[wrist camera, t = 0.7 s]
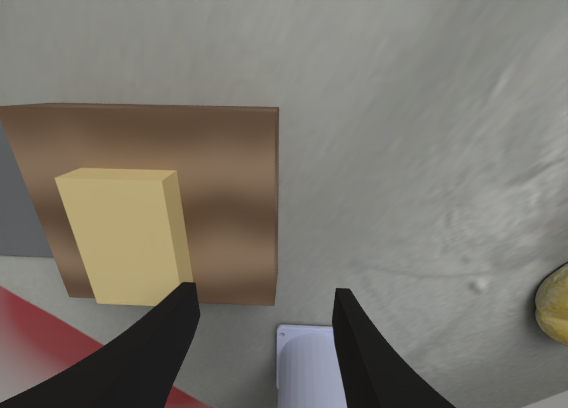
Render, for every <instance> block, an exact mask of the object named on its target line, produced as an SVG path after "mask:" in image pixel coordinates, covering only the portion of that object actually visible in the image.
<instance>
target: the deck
mask: <svg viewBox="0 0 568 408" xmlns="http://www.w3.org/2000/svg"><path fill="white" fill-rule="evenodd" d="M0 120H1V123H2V125H3V128H4V130H5V133H6V135H7V138H8V141H9V143H10V146H11V148H12V151H13V153H14V156H15V159H16V161H17V164H18V166H19V169H20V171H21V174H22V177H23V179H24V182H25V184H26V187H27V189H28V192H29V195H30V197H31V200H32V202H33V205H34V207H35V210H36V213H37V215H38V218H39V220H40V223H41V225H42V228H43V230H44V233H45V236H46V238H47V241H48V243H49V246H50V248H51V251H52V254H53V256H54V259H55V261H56V264H57V266H58V269H59V272H60V274H61V277H62V279H63V282H64V284H65V287H66V290H67V292H68V295H69V297H76V298H95V296H94V293H93V290H92V287H91V284H90V281H89V278H88V275H87V272H86V269H85V266H84V263H83V260H82V257H81V254H80V251H79V249H78V246H77V243H76V240H75V237H74V234H73V231H72V228H71V225H70V222H69V219H68V216H67V213H66V210H65V207H64V204H63V202H62V199H61V196H60V193H59V190H58V187H57V184H56V181H55V178H56V177H58V176H61V175H64V174H66V173H69V172H71V171H74V170H77V169H79V168H103V169H140V170H176V171H177V176H178V183H179V189H180V196H181V203H182V209H183V216H184V223H185V230H186V236H187V243H188V250H189V257H190V263H191V270H192V277H193V282H196V289H197V296H198V303H216V304H240V305H263V306H274V304H275V294H276V284H277V274H278V158H279V107H239V106H188V105H137V104H87V103H43V104H28V105H12V106H0Z"/></svg>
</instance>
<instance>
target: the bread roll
mask: <svg viewBox="0 0 568 408" xmlns="http://www.w3.org/2000/svg"><path fill="white" fill-rule="evenodd" d="M535 303H536V308H537V309H536V310H535V317H536V321H537V323H538V325H539V327H540V328H541V329H542V330H543V331H544V332H545V333H546V334H547V335H548V336H549V337H551V338H552V339H554V340H556V341H558V342H560V343H562V344H564V345H566V346H568V263H567V264H566V265H564V266H562V267H561V268H560V269H558V270H556V271H555V272H554V273H552V274H551V275H550V276H549V277H547V278H546V279H545V280H544V281H543V283H542V284H541V285H540V287H539V289H538V291H537V293H536V298H535Z"/></svg>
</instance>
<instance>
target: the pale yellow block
mask: <svg viewBox="0 0 568 408" xmlns="http://www.w3.org/2000/svg"><path fill="white" fill-rule="evenodd" d="M55 181H56V184H57V187H58V190H59V193H60V196H61V199H62V202H63V204H64V207H65V210H66V213H67V216H68V219H69V222H70V225H71V228H72V231H73V234H74V237H75V240H76V243H77V246H78V249H79V251H80V254H81V257H82V260H83V263H84V266H85V269H86V272H87V275H88V278H89V281H90V284H91V287H92V290H93V293H94V296H95V298H96V301H97V304H120V305H143V306H156V305H157V304H159V303H160V302H161V301H162V300H163V299H164V298H165V297H166V296H168V295H169V294H170V293H171V292H172V291H173V290H174V289H175V288H176V287H178V286H179V285H180V284H181V283H182V282H193V277H192V270H191V263H190V257H189V250H188V243H187V236H186V230H185V223H184V216H183V209H182V203H181V196H180V189H179V183H178V176H177V171H176V170H140V169H103V168H79V169H77V170H74V171H71V172H69V173H66V174H64V175H61V176H58V177H56V178H55Z"/></svg>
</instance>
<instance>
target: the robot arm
mask: <svg viewBox="0 0 568 408" xmlns="http://www.w3.org/2000/svg"><path fill="white" fill-rule="evenodd" d="M199 318H200V310H199V303H198V296H197V289H196V282H182V283H181V284H180V285H179V286H178V287H176V288H175V289H174V290H173V291H172V292H171V293H170V294H169V295H168V296H166V297H165V298H164V299H163V300H162V301H161V302H160V303H159V304H157V305H156V306H155V307H154V308H153V309H152V310H151V311H149V312H148V313H147V314H146V315H145V316H143V317H142V318H141V319H140V320H138V321H137V322H136V323H135V324H134V325H132V326H131V327H130V328H129V329H127V330H126V331H125V332H123V333H122V334H121V335H119V336H118V337H116V338H115V339H114V340H112V341H111V342H109V343H108V344H106V345H105V346H103V347H102V348H100V349H99V350H97V351H96V352H94V353H92V354H91V355H89V356H88V357H86V358H84V359H83V360H81V361H80V362H78V363H76V364H75V365H73V366H71V367H70V368H68V369H66V370H65V371H62V372H61V373H59V374H57V375H55V376H53V377H51V378H50V379H48V380H46V381H44V382H42V383H40V384H38V385H36V386H34V387H32V388H30V389H28V390H27V391H24V392H22V393H20V394H18V395H16V396H14V397H12V398H9V399H7V400H5V401H3V402H1V403H0V408H164V407H165V403H166V401H167V397H168V395H169V393H170V390H171V388H172V385H173V383H174V381H175V378H176V376H177V374H178V372H179V369H180V367H181V365H182V363H183V360H184V358H185V356H186V354H187V351H188V349H189V347H190V344H191V342H192V340H193V337H194V334H195V331H196V328H197V325H198V321H199ZM332 326H333V327H327V326H305V325H278V327H277V375H276V387H277V389H279V391H278V408H456V407H454V406H453V405H452V404H451V403H450V402H448V401H447V400H446V399H445V398H444V397H442V396H441V395H440V394H439V393H438V392H437V391H435V390H434V389H433V388H432V387H431V386H430V385H429V384H428V383H427V382H426V381H424V380H423V379H422V378H421V377H420V376H419V375H418V374H417V373H416V372H415V371H414V370H413V369H412V368H411V367H410V366H409V365H408V364H407V363H406V362H405V361H404V360H403V359H402V358H401V357H400V356H399V355H398V353H397V352H396V351H395V350H394V349H393V348H392V347H391V345H390V344H389V343H388V342H387V341H386V339H385V338H384V337H383V336H382V335H381V333H380V332H379V331H378V329H377V328H376V327H375V325H374V324H373V323H372V321H371V320H370V319H369V317H368V316H367V314H366V313H365V312H364V310H363V309H362V307H361V306H360V304H359V303H358V301H357V299H356V298H355V296H354V295H353V293H352V291H351V290H350V289H346V288H336V291H335V300H334V308H333V317H332Z"/></svg>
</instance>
